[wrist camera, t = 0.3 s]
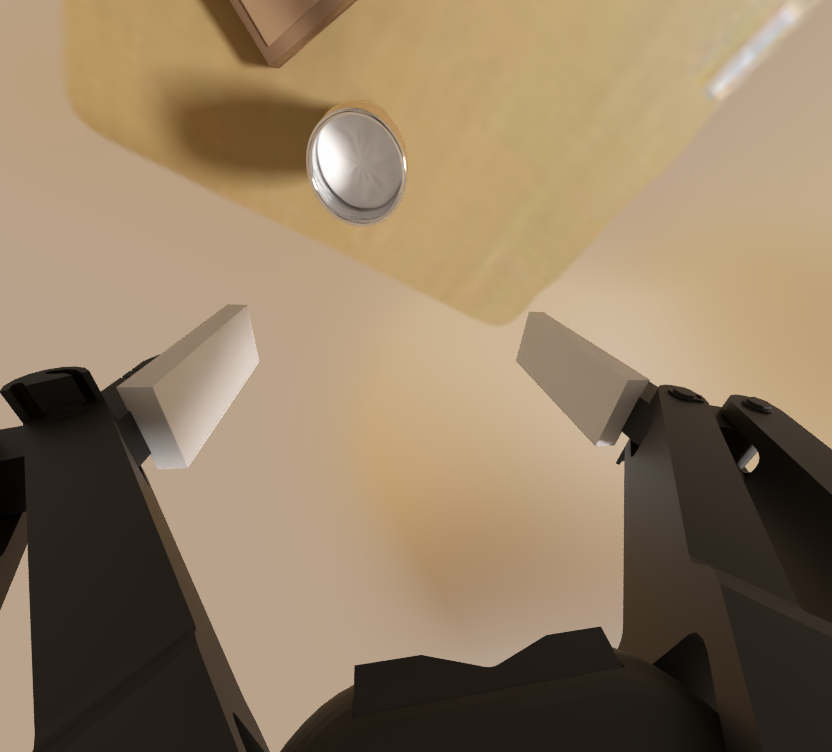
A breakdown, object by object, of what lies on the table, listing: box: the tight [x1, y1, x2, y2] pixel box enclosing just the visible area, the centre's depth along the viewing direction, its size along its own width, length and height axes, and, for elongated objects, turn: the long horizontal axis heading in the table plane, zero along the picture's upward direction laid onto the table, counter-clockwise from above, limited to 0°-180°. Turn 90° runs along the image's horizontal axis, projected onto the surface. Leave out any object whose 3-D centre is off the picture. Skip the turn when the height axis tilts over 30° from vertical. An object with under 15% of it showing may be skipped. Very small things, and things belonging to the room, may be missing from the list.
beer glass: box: [306, 100, 408, 226], centre depth 25 cm, size 7×7×15 cm
